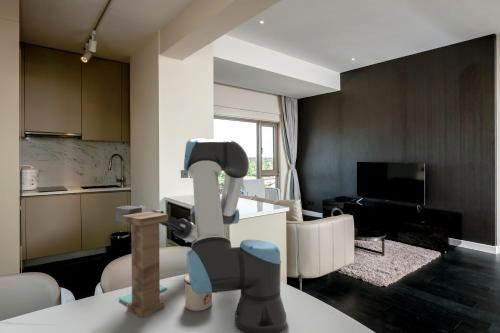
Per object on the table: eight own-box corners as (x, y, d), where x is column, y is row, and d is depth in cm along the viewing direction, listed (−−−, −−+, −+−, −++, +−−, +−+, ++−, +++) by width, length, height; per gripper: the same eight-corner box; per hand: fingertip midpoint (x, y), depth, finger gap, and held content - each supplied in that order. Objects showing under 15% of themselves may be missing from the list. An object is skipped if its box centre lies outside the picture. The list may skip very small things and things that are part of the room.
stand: (168, 306, 96) (168, 214, 96) (141, 320, 88) (140, 219, 88) (149, 298, 102) (149, 211, 102) (122, 310, 94) (121, 215, 94)
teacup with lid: (209, 312, 93) (209, 275, 93) (180, 311, 94) (180, 274, 93) (216, 295, 105) (216, 262, 105) (191, 294, 106) (191, 261, 105)
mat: (166, 289, 109) (166, 287, 109) (129, 305, 97) (129, 303, 97) (156, 285, 113) (156, 283, 113) (119, 300, 101) (119, 298, 100)
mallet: (152, 215, 115) (152, 202, 115) (165, 217, 110) (165, 203, 110) (115, 221, 103) (115, 207, 102) (128, 224, 98) (128, 209, 98)
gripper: (195, 242, 117) (150, 221, 100) (169, 235, 126) (125, 215, 109) (202, 223, 120) (159, 200, 103) (176, 219, 129) (134, 197, 112)
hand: (142, 208), depth 106 cm, fingers closed on mallet, 2 cm apart
